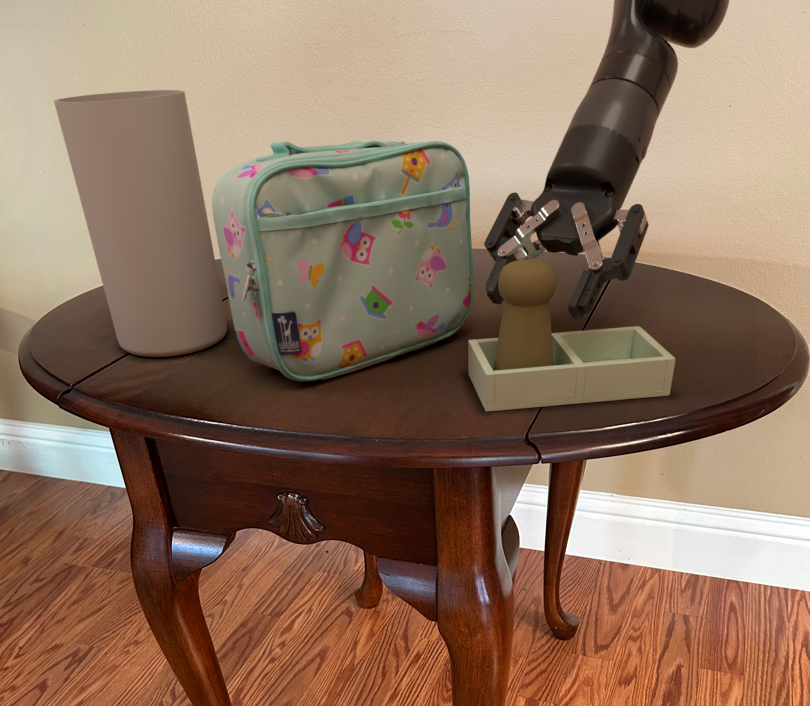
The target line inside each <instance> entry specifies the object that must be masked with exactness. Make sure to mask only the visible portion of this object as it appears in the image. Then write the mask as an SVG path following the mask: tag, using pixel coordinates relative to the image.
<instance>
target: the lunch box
mask: <svg viewBox="0 0 810 706" xmlns="http://www.w3.org/2000/svg"><path fill="white" fill-rule="evenodd" d="M270 148H271V150H272V154H269V155H265V156H257V157H256V158H254V159H251V160H248V161H244V162H243V163H240V164H237V165H236V166H234V167H231V168H230V169H228V170H227V171H225V172H224V173H222V174H221V176H219V178H218V179H217V181H216V182H215V185H214V188H213V191H212V197H211V209H212V217H213V224H214V229H215V233H216V234H215V235H216V239H217V245H218V251H219V256H220V261H221V266H222V271H223V276H224V281H225V285H226V290H227V291H226V292H227V296H228V302H229V308H230V313H231V318H232V322H233V326H234V331H235V334H236V338H237V341H238V344H239V345H240V348H241V350H242V352H243V353H244V354H245V356H246V357H247V358H248V359H250V360H251V361H253V362H254V363H256V364H259V365H263V366H266V367H268V368H270V369H271V368H272V369H275V370H277V371H279V372H280V374H281V375H283V376H284V377H286V378H287V379H289V380H291V381H295V382H314V381H318V380H322V381H324V380H327V379H332V378H334V377H338V376H342V375H346V374H350V373H352V372H356V371H359V370H361V369H365V368H368V367H370V366H373V365H377V364H380V363H383V362H385V361H388V360H392V359H393V358H396V357H399V356H401V355H404V354H407V353H410V352H415V351H417V350H420V349H423V348H425V347H427V346H430V345H433V344H436V343H438V342H439V341H442V340H444V339H447V338H449V337H451V336H452V335H454V334H455V333H457V331H458V330H460V328H461V327H462V326H463V325H464V323H465V322H466V320H467V318H468V316H469V315H470V312H471V309H472V305H473V300H474V295H475V294H474V292H475V291H474V290H475V284H474V283H475V280H474V278H475V277H474V262H473V261H474V260H473V247H472V246H473V244H472V243H473V242H472V227H471V198H470V197H471V192H470V191H471V190H470V189H471V188H470V186H471V185H470V175H469V170H468V166H467V164H466V161H465V158H464V157H463V155H462V153H461V152H460V151H459V150H458V149H457V148H456V147H455V146H453V145H451V144H450V143H447V142H445V141H440V140H427V141H419V142H410V143H407V142H405V140H401V141H395V140H394V141H393V140H388V141H387V140H386V141H379V140H370V141H351V142H347V143H342V144H326V145H314V146H313V145H311V146H304V147H301V146H298V145H296V144H294V143H292V142H290V141H287V140H286V141H285V140H284V141H272V142H271V143H270Z"/></svg>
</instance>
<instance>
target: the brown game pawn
mask: <svg viewBox="0 0 810 706" xmlns="http://www.w3.org/2000/svg"><path fill="white" fill-rule="evenodd" d="M557 282H558V277H557V271H556V269H555V267H554V266H553V265H552V264H551V263H549V262H547V261H544V260H541V259H532V258H529V259H526V260H518V261H513V262H510V263H508V264H507V265H505V266H504V267H503V269H502V270H501V272H500V276H499V280H498V288H499V293H500V295H501V296H502V298H503V299H504V300H503V305H502V312H501V319H500V325H499V331H498V337H497V338H498V344H497V350H496V356H495V363H494V369H493V371H497V370H508V369H520V368H532V367H544V366H554V361H553V347H552V322H551V321H552V320H551V319H552V318H551V305H550V300H551V299H552V298H553V297H554V295H555V292H556V289H557Z"/></svg>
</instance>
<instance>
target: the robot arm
mask: <svg viewBox="0 0 810 706" xmlns="http://www.w3.org/2000/svg"><path fill="white" fill-rule="evenodd" d="M729 4H730V0H613V6H612V7H613V8H612V17H611V25H610V30H609V36H608V39H607V44H606V46H605V49H604V52H603V55H602V57H601V60H600V62H599V65H598V67H597V69H596V72H595V74H594V76H593V78H592V81H591V83H590V85H589V87H588V90H587V91H586V93H585V95H584V97H583V98H582V100H581V102H580V103H579V105H578V106H577V107H576V109H575V112H574V114H573V116H572V118H571V120H570V123H569V125H568V127H567V130H566V132H565V134H564V136H563V138H562V141H561V143H560V145H559V147H558V149H557V152H556V153H555V155H554V158H553V161H552V163H551V165H550V167H549V170H548V172H547V174H546V178H545V183H544V186H543V190H542V192H541V194H540V195H538V197H536V199H535V200H534V201H533V200H527V199H522V198H521V197H520V196H519V193H517V192H515V191H514V192H511V193H510V194H508V195H507V197H506V199H505V201H504V202H503V204H502V207H501V209H500V211H499V213H498V214H497V217H496V219H495V221H494V223H493V224H492V227H491V229H490V230H489V232H488V234H487V236H486V239H485V240H484V242H483V245H484V248H485V249H486V250H487V253H489V255H490V256H491V258H492V259H493V261H494V265H493V267H492V270H491V271H490V274H489V276H488V278H487V281H486V282H485V291H486V295H487V297H488V299H489V300H490V301H491V303H492V304H496V305H502V304H503V303H504V299H503V298H502V296H501V295H500V293H499V288H498V280H499V276H500V272H501V270H502V269H503V267H504V266H505V265H507V264H508V263H510V262H513V261H518V260H526V259H536V258H537V257H539V256H540V255H541V254H543V253H544V252H545V251H547V253H553V254H554V253H555V254H556V253H557V254H558V253H565V254H567V255H569V256H575V257H576V256H577V257H578V255H579V254H581V253H584V256H585V258H586V262H587V265H588V270H585V269H584V270H583V271H582V272H581V275H580V277H579V280H578V283H577V285H576V287H575V289H574V291H573V294H572V295H571V298H570V300H569V302H568V304H567V305H568V307H567V310H568V312H569V314H570V316H571V317H572V319H573V320H574V319H575V320H580V321H581V320H582V319H583V318H584V316H585V315H589V313H590V312H591V311H593V308H594V306H595V303H596V301H597V299H598V297H599V295H600V292H601V290H602V288H603V285H604V284H606V283H607V282H608V281H611V280H618V281H620V282H624V281H627V280H628V279H629V278H630V277H631V274H632V272H633V269H634V267H635V264H636V261H637V258H638V255H639V253H640V250H641V248H642V245H643V242H644V240H645V237H646V234H647V233H648V232H647V231H648V228H649V222H648V218H647V215H646V212H645V210H644V207H643V205H642V204H641V203H635V204H633V205H631V206H630V208H629V209H622V208H623V205H624V203H625V200H626V198H627V196H628V194H629V192H630V189H631V187H632V185H633V183H634V180H635V178H636V176H637V174H638V172H639V169H640V167H641V165H642V162H643V161H644V159H645V158H646V155H647V152H648V148H649V146H650V144H651V141H652V137H653V134H654V131H655V127H656V124H657V122H658V119H659V116H660V115H661V112H662V110H663V109H664V105H665V103H666V101H667V99H668V97H669V94H670V93H671V90H672V87H673V85H674V82H675V80H676V77H677V74H678V68H679V59H678V55H677V53H676V51H675V49H674V48H673V46H672V45H671V44H673V45H675V46H676V45H677V46H679V47H683V48H687V49H696V48H699V47H701V46H703V45H705V44H706V43H707V42H709V40H710V39H711V38H712V37H714V36H715V34H716V33H717V31H718V30H719V29H720V27H721V25H722V24H723V21H724V19H725V17H726V15H727V12H728V8H729ZM616 227H618V230H619V231H618V232H619V236H618V238H617V241H616V243H615V247H614V249H613V251H612V255H611V256H610V257H609V258H605V256H604V254H603V250H602V247H601V243H600V240H602V239H603V238H604V237H606V236H608V235H609V234H610V233H611V232H612V231H614V230H615V229H616ZM534 234H536V238H537V239H536V240H535V241H533V242H532V241H531V237H532V236H533V235H534Z"/></svg>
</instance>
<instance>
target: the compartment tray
mask: <svg viewBox="0 0 810 706" xmlns="http://www.w3.org/2000/svg"><path fill="white" fill-rule="evenodd" d="M551 333H552V332H551ZM497 344H498V337H489V338H488V337H487V338H477V339H468V341H467V345H468V347H467V348H468V349H467V350H468V351H467V354H468V355H467V361H468V362H467V368H468V369H467V375H468V376H469V379H470V381H471V383H472V384H473V387H474V389H475V392H476V394H477V397H478V399H479V400H480V402H481V405H482V407H483V409H484V411H485V412H497V411H508V410H509V411H510V410H521V409H530V408H542V407H554V406H564V405H576V404H589V403H599V402H610V401H623V400H632V399H633V400H634V399H643V398H644V399H645V398H655V397H666V396H667V397H668V396H671V389H672V384H673V383H672V382H673V377H674V371H675V366H676V365H675V364H676V358H675V356H673V354H671V353H670V352H669V351H668V350H667V349H666V348H664V347H663V346H662V345H661V344H660V343H659V342H658V341H656V339H654V338H653V336H651V335H650V334H649V333H648V332H647V331H646V330H644V328H642V327H641V326H640V325H636V326H623V327H610V328H599V329H598V328H597V329H587V330H575V331H574V330H573V331H562V332H561V331H560V332H553V333H552V347H553V361H554V366H544V367H532V368H520V369H508V370H497V371H493V369H494V363H495V356H496V350H497Z"/></svg>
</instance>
